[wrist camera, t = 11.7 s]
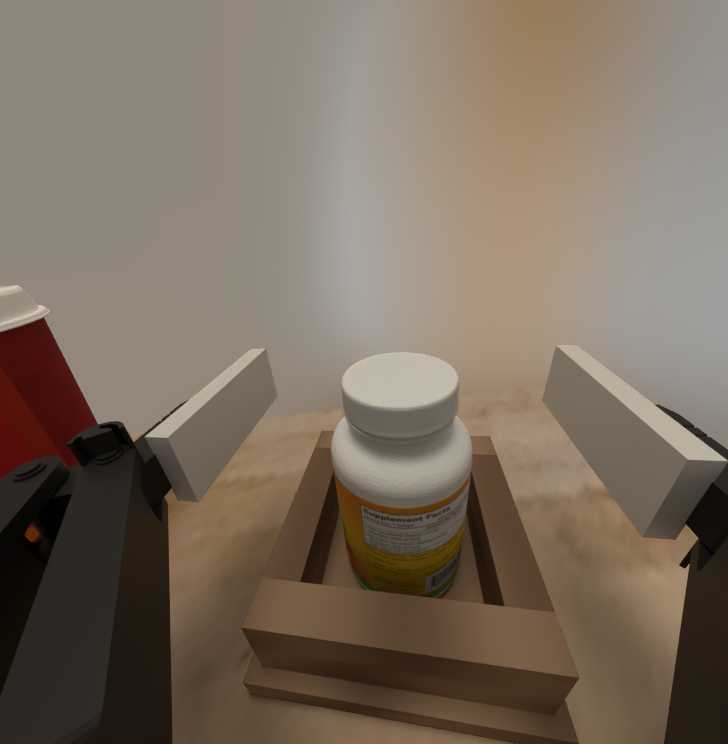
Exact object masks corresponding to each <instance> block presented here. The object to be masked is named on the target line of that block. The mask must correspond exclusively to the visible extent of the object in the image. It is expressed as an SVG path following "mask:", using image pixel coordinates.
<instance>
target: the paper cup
mask: <svg viewBox="0 0 728 744" xmlns="http://www.w3.org/2000/svg"><path fill="white" fill-rule="evenodd" d="M49 313H50V310H49V309H47V308H46V307H45V306H42V305H36V303H35V302H34V301H33V300H32V298H31V297H30V296H29V295H28V294H27V292H26V291H25V290H24V289H23V288H21V287H19V286H18V285H14V286H4V285H2V286H0V479H1V478H3V477H4V476H5V475H6V474H8V473H9V472H10V471H12V470H14V469H15V468H17V467H18V466H19V465H21V464H23V463H25V462H28V461H30V460H33V459H38V458H41V457H45V456H52V455H54V456H59V457H60V459H61V460H62V462H63V463H64V464H65V466H66V467H70V466H76V465H81V464H80V463H79V462H78V460H77V459H76V457H75V456H74V454H73V453H72V452H71V450H70V449H69V447H68V446H67V443H68V442H69V441H70V440H71V439H72V438H73V437H75V436H76V435H77V434H79V433H81V432H83V431H84V430H86V429H88V428H91V427H93V426H96V425H98V424H97V422H96V420H95V418H94V416H93V414H92V412H91V410H90V408H89V406H88V404H87V402H86V400H85V398H84V396H83V394H82V392H81V391H80V388H79V386H78V384H77V382H76V380H75V378H74V376H73V374H72V372H71V370H70V368H69V366H68V364H67V363H66V361H65V358H64V357H63V355H62V352H61V351H60V349H59V347H58V345H57V343H56V341H55V339H54V337H53V335H52V333H51V331H50V329H49V327H48V325H47V323H46V321H45V319H44V317H45V316H47V315H48V314H49ZM39 534H40V533H39V532H38V531H37V530H36V529H35V528H34V527H33V526H32V525H31V524H30V525H29V527H28V529H27V531H26V533H25V537H26V538H27V539H28V540H29V541H31V542H33V541H34V540H35V539H36V538H37V536H38V535H39Z"/></svg>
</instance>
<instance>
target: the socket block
mask: <svg viewBox="0 0 728 744" xmlns="http://www.w3.org/2000/svg"><path fill="white" fill-rule="evenodd" d="M333 434H334V431H322V432H321V434H320V437H319V439H318V442H317V444H316V446H315V449H314V451H313V454H312V456H311V459H310V461H309V463H308V466H307V468H306V471H305V473H304V476H303V478H302V480H301V483H300V485H299V488H298V490H297V493H296V495H295V497H294V500H293V502H292V505H291V507H290V510H289V512H288V514H287V517H286V519H285V522H284V524H283V527H282V529H281V531H280V534H279V536H278V539H277V541H276V544H275V546H274V548H273V551H272V553H271V556H270V558H269V560H268V563H267V565H266V568H265V570H264V573H263V575H262V577H261V580H260V582H259V585H258V587H257V590H256V592H255V594H254V597H253V599H252V602H251V604H250V607H249V609H248V611H247V614H246V616H245V619H244V621H243V624H242V626H241V629H242V630H243V632H244V634H245V636H246V638H247V640H248V641H249V643H250V645H251V647H252V649H253V651H254V654H253V656H252V659H251V662H250V665H249V667H248V670H247V673H246V676H245V679H244V681H243V684H244V685H245V687H246V688H247V690H248V691H249V693H251V694H256V695H262V696H267V697H273V698H278V699H283V700H289V701H294V702H299V703H305V704H310V705H316V706H321V707H326V708H332V709H337V710H343V711H348V712H353V713H359V714H364V715H369V716H375V717H380V718H386V719H391V720H396V721H402V722H407V723H412V724H418V725H423V726H429V727H434V728H439V729H445V730H450V731H456V732H461V733H466V734H472V735H477V736H482V737H488V738H493V739H499V740H504V741H509V742H515V743H520V744H579V742H578V739H577V736H576V733H575V730H574V726H573V723H572V720H571V717H570V714H569V711H568V708H567V705H566V702H565V698H566V697H567V695H568V694H569V692H570V691H571V689H572V688H573V686H574V685H575V683H576V682H577V680H578V679H579V676H578V674H577V671H576V668H575V665H574V663H573V660H572V657H571V655H570V652H569V649H568V646H567V644H566V641H565V638H564V636H563V633H562V630H561V627H560V625H559V622H558V619H557V617H556V614H555V611H554V609H553V606H552V603H551V600H550V598H549V595H548V592H547V590H546V587H545V584H544V581H543V579H542V576H541V573H540V571H539V568H538V565H537V562H536V560H535V557H534V554H533V552H532V549H531V546H530V544H529V541H528V538H527V535H526V533H525V530H524V527H523V525H522V522H521V519H520V516H519V514H518V511H517V508H516V506H515V503H514V500H513V497H512V495H511V492H510V489H509V487H508V484H507V481H506V479H505V476H504V473H503V470H502V468H501V465H500V462H499V460H498V457H497V454H496V451H495V449H494V446H493V443H492V441H491V438H490V437H487V436H470V438H471V442H472V450H473V455H472V470H471V478H470V485H469V493H468V501H467V508H466V516H465V524H464V533H463V541H462V549H461V556H460V562H459V566H458V570H457V573H456V575H455V578H454V580H453V582H452V583H451V585H450V586H449V588H448V589H447V590H446V591H445V592H444V593H443V594H442V595H441V596H440V597H438V598H429V597H421V596H412V595H404V594H395V593H387V592H379V591H370V590H365V589H364V588H363V586H362V585H361V584H360V583H359V581H358V580H357V578H356V576H355V575H354V573H353V570H352V568H351V565H350V562H349V558H348V553H347V548H346V543H345V537H344V531H343V525H342V519H341V513H340V507H339V501H338V495H337V489H336V483H335V477H334V471H333V465H332V457H331V442H332V437H333Z"/></svg>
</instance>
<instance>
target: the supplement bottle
mask: <svg viewBox="0 0 728 744" xmlns="http://www.w3.org/2000/svg"><path fill="white" fill-rule="evenodd" d="M341 387H342V397H343V405H344V414H345V416H344V417H343V418H342V420H341V421H340V422H339V424H338V425H337V427H336V429H335V431H334V434H333V437H332V442H331V457H332V465H333V471H334V477H335V483H336V489H337V495H338V501H339V507H340V513H341V519H342V525H343V531H344V537H345V543H346V548H347V553H348V558H349V562H350V565H351V568H352V570H353V573H354V575H355V576H356V578H357V580H358V581H359V583H360V584H361V585H362V586H363V588H364V589H365V590H370V591H379V592H387V593H395V594H404V595H412V596H421V597H429V598H438V597H440V596H441V595H442V594H443V593H444V592H445V591H446V590H447V589H448V588H449V586H450V585H451V583H452V582H453V580H454V578H455V575H456V573H457V570H458V566H459V562H460V556H461V549H462V541H463V533H464V524H465V516H466V508H467V501H468V493H469V485H470V478H471V470H472V455H473V450H472V442H471V438H470V435H469V433H468V430H467V429H466V427H465V425H464V424H463V422H462V421H461V420H460V419H459V418H458V417H457V416H456V413H457V410H458V389H459V378H458V375H457V373H456V371H455V370H454V369H453V367H451V366H450V365H449V364H448V363H446V362H444V361H443V360H441V359H438V358H436V357H432V356H429V355H424V354H419V353H409V352H394V353H385V354H380V355H375V356H371V357H368V358H366V359H363V360H360V361H358V362H357V363H355V364H353V365H352V366H351V367H350V368H348V370H346V372H345V373H344V375H343V377H342V381H341Z"/></svg>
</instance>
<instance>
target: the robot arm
mask: <svg viewBox="0 0 728 744" xmlns="http://www.w3.org/2000/svg"><path fill="white" fill-rule="evenodd" d="M276 397H277V392H276V388H275V384H274V380H273V376H272V372H271V368H270V363H269V359H268V356H267V351H266V349H251V350H249V351H248V352H247V353H246V354H244V355H243V356H242V357H241V358H240V359H238V360H237V361H236V362H235V363H234V364H232V365H231V366H230V367H229V368H228V369H226V370H225V371H224V372H223V373H222V374H220V375H219V376H218V377H217V378H216V379H214V380H213V381H212V382H211V383H209V384H208V385H207V386H206V387H204V389H202V390H201V391H200V392H198V393H197V394H196V395H195V396H194V397H192V398H191V399H190V400H188V401H186V402H184V403H182V404H180V405H179V406H178V407H176V408H175V409H174V410H173V411H171V413H170V414H168V415H167V416H165V417H164V418H163V419H162V421H159V422H158V423H157V424H155V425H154V426H153V427H152V428H151V429H149V430H148V431H147V432H146V433H144V434H143V435H142V436H141V437H139V438H138V439H137V440H136V441H134V442H133V440H132V439H131V437H130V435H129V433H128V431H127V430H126V428H125V426H124V424H123V423H121V422H118V421H116V422H107V423H103V424H99V425H96V426H93V427H91V428H88V429H86V430H84V431H83V432H81V433H79V434H77V435H76V436H75V437H73V438H72V439H71V440H70V441H69V442H68V443H67V446H68V447H69V449H70V450H71V452H72V453H73V454H74V456H75V457H76V459H77V460H78V462H79V463H80V464H81V465H76V466H70V467H66V466H65V464H64V463H63V462H62V460H61V459H60V457H59V456H54V455H52V456H45V457H41V458H38V459H33V460H30V461H28V462H25V463H23V464H21V465H19V466H18V467H17V468H15V469H14V470H12V471H10V472H9V473H8V474H6V475H5V476H4V477H3V478H1V479H0V744H172V697H171V645H170V594H169V543H168V504H167V502H166V499H165V498H164V496H165V495H166V494H167V493H168V492H169V491H170V489H171V488H172V489H173V491H174V493H175V495H176V497H177V499H178V500H179V501H191V502H199V501H200V500H201V498H202V497H203V496H204V494H205V493H206V491H207V490H208V489H209V487H210V486H211V485H212V483H213V482H214V481H215V479H216V478H217V477H218V475H219V474H220V473H221V471H222V470H223V469H224V467H225V466H226V465H227V463H228V462H229V461H230V459H231V458H232V457H233V455H234V454H235V452H236V451H237V450H238V448H239V447H240V446H241V444H242V443H243V442H244V440H245V439H246V438H247V436H248V435H249V434H250V432H251V431H252V430H253V428H254V427H255V426H256V424H257V423H258V422H259V420H260V419H261V418H262V416H263V415H264V413H265V412H266V411H267V409H268V408H269V407H270V405H271V404H272V403H273V401H274V400H275V399H276ZM542 401H543V402H544V403H545V405H546V406H547V407H548V409H549V410H550V412H551V413H552V414H553V416H554V417H555V418H556V420H557V421H558V422H559V424H560V425H561V427H562V428H563V429H564V431H565V432H566V433H567V435H568V436H569V438H570V439H571V440H572V442H573V443H574V444H575V446H576V447H577V449H578V450H579V451H580V453H581V454H582V455H583V457H584V458H585V459H586V461H587V462H588V464H589V465H590V466H591V468H592V469H593V470H594V472H595V473H596V475H597V476H598V477H599V479H600V480H601V481H602V483H603V484H604V485H605V487H606V488H607V490H608V491H609V492H610V494H611V495H612V496H613V498H614V499H615V501H616V502H617V503H618V505H619V506H620V507H621V509H622V510H623V511H624V513H625V514H626V516H627V517H628V518H629V520H630V521H631V522H632V524H633V525H634V527H635V528H636V529H637V531H638V532H639V533H640V535H641V536H642V537H647V538H660V539H673V540H676V538H677V537H678V535H679V534H680V532H681V531H682V529H683V528H684V526H685V525H686V524H687V526H688V527H689V528H690V529H691V530H692V531H693V532H694V533H695V534H696V536H697V537H698V540H697V541H696V543H695V544H694V545H693V547H692V548H691V549H690V551H689V552H688V553H687V555H686V556H685V558H684V559H683V560H682V562H681V563H680V565H679V566H681V567H683V568H686V567H687V566H688V564H690V566H689V573H688V580H687V587H686V594H685V601H684V608H683V615H682V622H681V629H680V636H679V643H678V650H677V657H676V664H675V671H674V678H673V685H672V692H671V699H670V706H669V713H668V720H667V727H666V734H665V741H664V744H728V450H727V449H726V448H724V447H723V446H722V445H720V444H719V443H718V442H716V441H715V440H713V439H712V438H711V437H707V434H705V433H704V432H702V431H701V430H700V429H698V428H694V425H693V424H691V423H690V422H689V421H687V420H686V419H685V418H683V417H682V416H680V415H679V414H677V413H675V412H673V411H670V410H669V409H667V408H664V407H662V406H660V405H654V404H653V403H651V402H650V401H649V400H647V399H646V398H644V397H643V396H642V395H641V394H640V393H638V392H637V391H636V390H634V389H633V388H632V387H630V386H629V385H628V384H626V383H625V382H624V381H622V380H621V379H620V378H618V377H617V376H616V375H614V374H613V373H612V372H610V371H609V370H608V369H607V368H605V367H604V366H603V365H601V364H600V363H599V362H597V361H596V360H595V359H594V358H592V357H591V356H590V355H588V354H587V353H586V352H584V351H583V350H581V349H580V348H579V347H578V346H576V345H556V348H555V352H554V356H553V360H552V364H551V368H550V372H549V376H548V380H547V384H546V387H545V391H544V395H543V399H542ZM30 524H31V525H32V526H33V527H34V528H35V529H36V530H37V531H38V532H39V533H40V534H39V535H38V536H37V538H36V539H35V540H34V541H33V542H31V541H29V540H28V539H27V538H26V537H25V533H26V531H27V529H28V527H29V525H30Z"/></svg>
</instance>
